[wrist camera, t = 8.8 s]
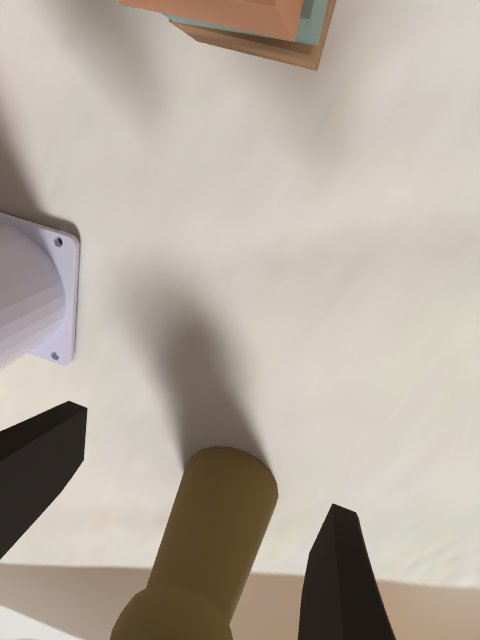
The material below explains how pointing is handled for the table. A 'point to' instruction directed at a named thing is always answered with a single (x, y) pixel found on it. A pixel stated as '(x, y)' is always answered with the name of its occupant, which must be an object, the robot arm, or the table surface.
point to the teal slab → (307, 25)
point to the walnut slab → (264, 43)
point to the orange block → (234, 14)
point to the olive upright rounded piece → (204, 550)
